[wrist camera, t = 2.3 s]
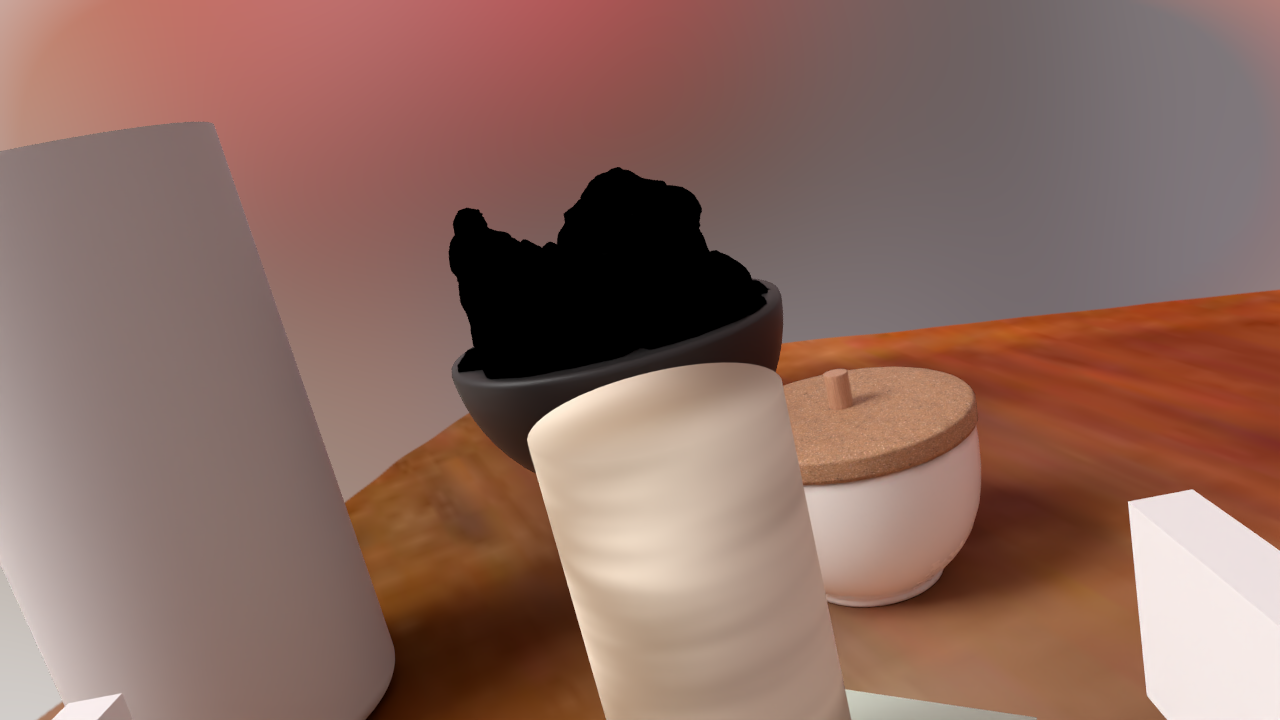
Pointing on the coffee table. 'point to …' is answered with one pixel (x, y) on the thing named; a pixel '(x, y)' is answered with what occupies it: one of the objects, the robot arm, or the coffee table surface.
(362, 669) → the cylinder vase
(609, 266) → the coal bowl
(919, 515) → the lidded jar
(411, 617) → the coffee table surface
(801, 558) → the ash peg
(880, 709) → the hollow square frame
